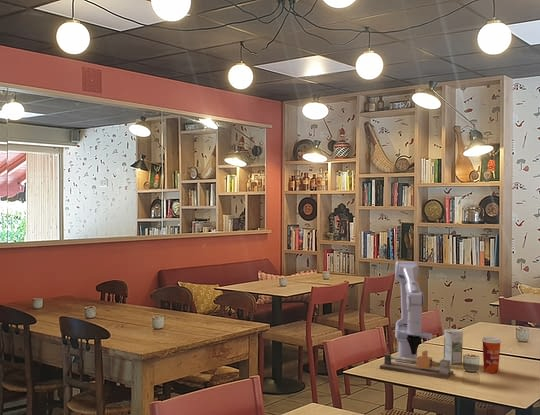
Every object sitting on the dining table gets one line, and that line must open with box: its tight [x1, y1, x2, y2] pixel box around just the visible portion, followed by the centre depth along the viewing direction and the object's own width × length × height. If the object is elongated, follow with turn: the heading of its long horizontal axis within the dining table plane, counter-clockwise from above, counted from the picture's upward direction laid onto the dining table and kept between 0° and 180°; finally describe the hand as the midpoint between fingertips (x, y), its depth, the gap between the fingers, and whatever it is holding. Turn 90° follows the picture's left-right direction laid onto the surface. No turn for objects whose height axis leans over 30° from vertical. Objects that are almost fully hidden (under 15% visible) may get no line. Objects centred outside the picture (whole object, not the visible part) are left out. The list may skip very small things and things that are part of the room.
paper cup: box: [481, 336, 502, 374], centre depth 270 cm, size 8×8×14 cm
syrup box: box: [443, 328, 464, 365], centre depth 286 cm, size 6×6×14 cm
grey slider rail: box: [379, 353, 454, 380], centre depth 269 cm, size 10×28×6 cm, turn 58°
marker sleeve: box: [416, 350, 433, 369], centre depth 267 cm, size 4×5×6 cm
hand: (413, 354), depth 270 cm, fingers closed
